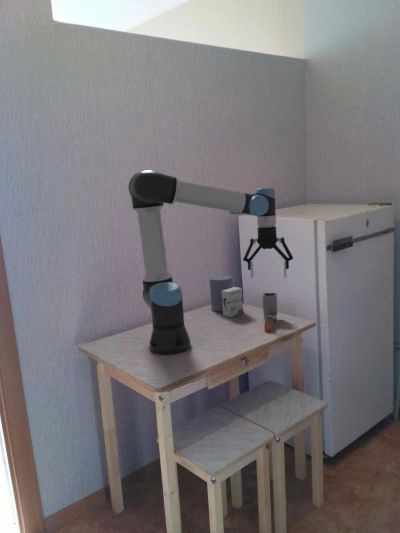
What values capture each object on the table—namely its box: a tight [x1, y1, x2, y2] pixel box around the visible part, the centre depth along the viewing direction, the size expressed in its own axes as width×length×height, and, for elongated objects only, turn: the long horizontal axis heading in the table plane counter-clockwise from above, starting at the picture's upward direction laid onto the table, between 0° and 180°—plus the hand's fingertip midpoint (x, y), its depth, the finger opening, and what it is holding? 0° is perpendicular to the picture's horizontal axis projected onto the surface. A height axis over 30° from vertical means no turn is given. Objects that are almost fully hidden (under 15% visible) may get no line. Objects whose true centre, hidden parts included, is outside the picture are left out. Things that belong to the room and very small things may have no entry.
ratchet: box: [263, 314, 278, 333], centre depth 193 cm, size 5×18×8 cm, turn 168°
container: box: [209, 274, 233, 312], centre depth 220 cm, size 10×10×15 cm
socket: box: [262, 292, 278, 316], centre depth 198 cm, size 6×6×8 cm
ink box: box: [222, 286, 244, 318], centre depth 210 cm, size 9×5×12 cm, turn 133°
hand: (268, 277), depth 196 cm, fingers open, 13 cm apart
